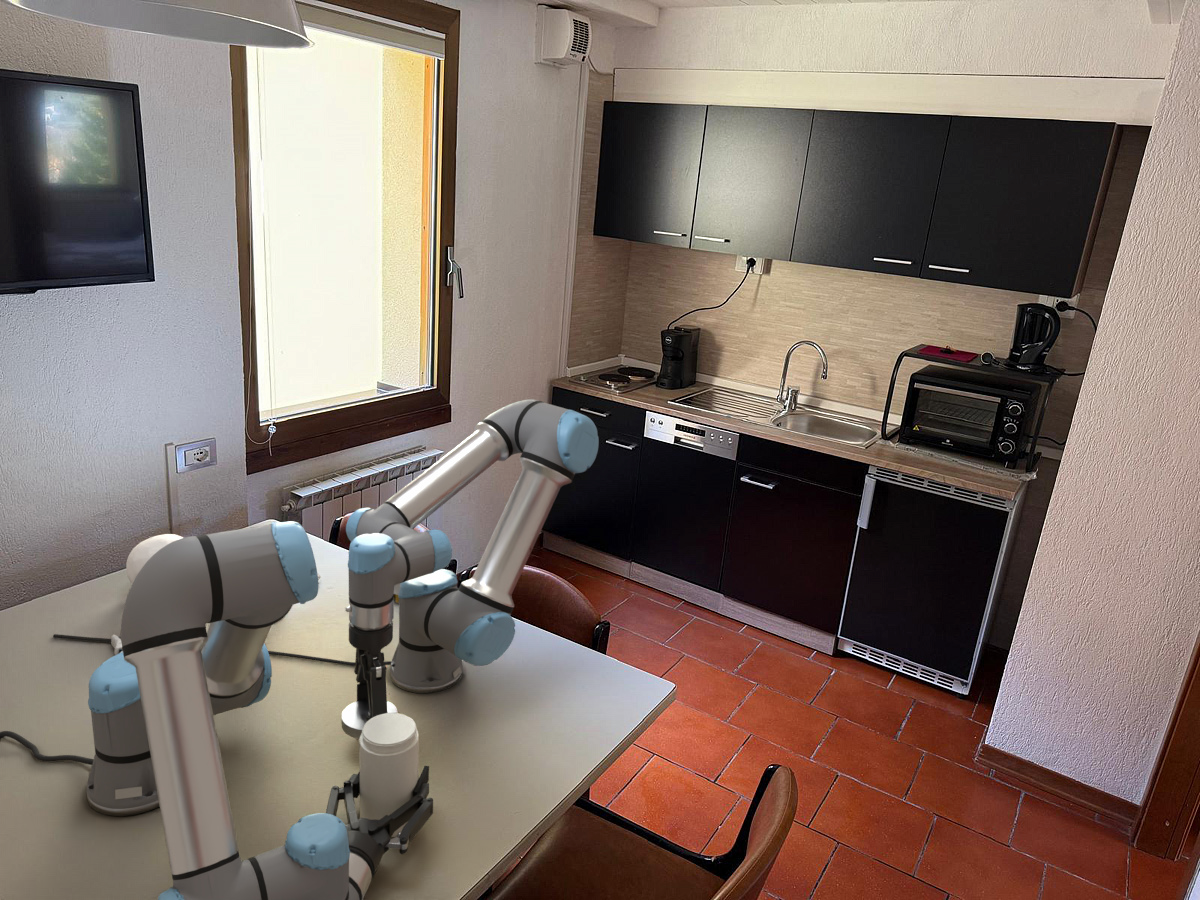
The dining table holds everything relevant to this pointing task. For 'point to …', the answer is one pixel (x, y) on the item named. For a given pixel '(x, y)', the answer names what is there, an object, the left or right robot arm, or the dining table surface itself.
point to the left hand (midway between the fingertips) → (397, 768)
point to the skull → (146, 553)
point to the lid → (359, 716)
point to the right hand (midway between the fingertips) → (370, 730)
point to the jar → (387, 765)
